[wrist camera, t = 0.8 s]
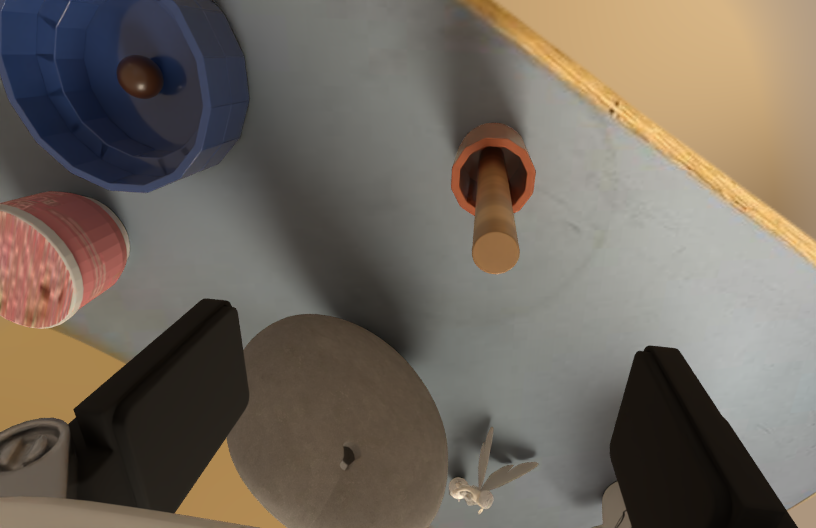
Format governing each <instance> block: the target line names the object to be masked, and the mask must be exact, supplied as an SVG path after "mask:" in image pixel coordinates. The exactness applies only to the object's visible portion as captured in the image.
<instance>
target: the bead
mask: <svg viewBox="0 0 816 528" xmlns="http://www.w3.org/2000/svg"><path fill="white" fill-rule="evenodd" d="M116 74H117V79H118V82H119V84H120V85H121V87H122V88H123V89H124V90H125V91H126V92H127V93H128V94H130V95H132V96H134V97H136V98H141V99H148V98H152V97H154V96H156V95H157V94H158V93H159V92H160V91H161V89H162V87H163V83H164V79H163V74H162V72H161V70H160V68H159V67H158V65H157V64H156V63H155V62H153V61H152V60H151V59H149V58H147V57H145V56H141V55H130V56H127V57H125V58H124V59H122V60H121V61H120V63H119V64H118V67H117V71H116Z"/></svg>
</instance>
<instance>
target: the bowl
mask: <svg viewBox="0 0 816 528" xmlns="http://www.w3.org/2000/svg"><path fill="white" fill-rule="evenodd" d="M130 55H141V56H145V57H147V58H149V59H151V60H152V61H153V62H155V63H156V64H157V65H158V67H159V68H160V70H161V72H162V74H163V79H164V83H163V87H162V89H161V91H160V92H159V93H158V94H157V95H156V96H154V97H152V98H148V99H141V98H136V97H134V96H132V95H130V94H128V93H127V92H126V91H125V90H124V89H123V88H122V87H121V85H120V84H119V82H118V79H117V74H116V71H117V67H118V64H119V63H120V61H121V60H122V59H124V58H125V57H127V56H130ZM0 76H1V79H2V82H3V85H4V88H5V91H6V94H7V98H8V100H9V102H10V103H11V105H12V106H13V108H14V109H15V111H16V112H17V114H18V115H19V117H20V119H21V120H22V122H23V123H24V125H25V126H26V128H27V129H28V131H29V132H30V134H31V135H32V137H33V138H34V140H35V141H36V142H37V143H38V144H39V145H40V146H41V147H42V148H43V149H45V150H46V151H47V152H48V153H49V154H50V155H51V156H52V157H54V158H55V159H56V160H57V161H58V162H59V163H60V164H61V165H63V166H64V167H65V168H66V169H67V170H68V171H69V172H71V173H72V174H74V175H77V176H79V177H81V178H83V179H85V180H87V181H90V182H92V183H94V184H96V185H98V186H100V187H103V188H105V189H107V190H110V191H125V192H140V193H148V192H151V191H153V190H156V189H158V188H161V187H163V186H166V185H168V184H171V183H173V182H176V181H178V180H180V179H183V178H185V177H188V176H190V175H193V174H195V173H198V172H200V171H202V170H205V169H207V168H209V167H212V166H214V165H217V164H219V163H220V162H221V160H222V159H223V158H224V157H225V155H226V154H227V153H228V152H229V151H230V149H231V148H232V147H233V146H234V145H235V143H236V142H237V141H238V140H239V138H240V135H241V131H242V127H243V123H244V119H245V115H246V112H247V108H248V104H249V92H248V83H247V75H246V66H245V58H244V55H243V53H242V51H241V49H240V46H239V44H238V42H237V40H236V38H235V36H234V34H233V32H232V29H231V27H230V25H229V23H228V21H227V19H226V17H225V15H224V13H223V12H222V11H221V10H220V9H219V8H218V7H217V5H216V4H215V3H214V2H213V1H212V0H0Z"/></svg>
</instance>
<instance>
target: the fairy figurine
mask: <svg viewBox="0 0 816 528" xmlns="http://www.w3.org/2000/svg"><path fill="white" fill-rule="evenodd" d="M492 437H493V427H491V428H490V430H489V432H488V434H487V438H486V442H483V445H482V448H481V452H480V458H479V467H478V471H479V473H478V474H479V475H478V476H479V487H477V486H476V487H477V488H476V487H475V486H474V485H472V487H471V486H470V485H468V483H467V481H466V480H465V479H464V478H460V477H457V478H454V479H453V480H451V481H450V484H449V491H450V492H449V495H450V496H451V495H452V496H453V497H454V498H457V499H458V502H459V500H460V499H462V498H465V501H467V503H468V504H467V505H475V504H478V505H479V506H481V509H480V510H479V511H478V512H480V513H481V512H482V511H483V508H484V509H488V508H490V506H491V505H492V502H493V496H492V494H491V492H490V491H489V490H492V489H495V488H498V487H500V486H502V485H504V484H507V483H509V482H511V481H513V480H515V479H517V478H519V477H521V476H523V475H524V474H526V473H528V472H529V471H531V470H532V469H534V468H535V467H537V466H538V463H536V462H527V463H522V464H520V465H517V466H515V467H514V468H513V469H511V468H512V467H513V466H514V465H507V466H504V467H502V468H500V469H499V470H497V471H495V472H494V473H492V474H491V475H490V476H489V478H488V479H487V481H486V482H485V483H484V485H483V487H482V484H483V481H484V477H485V473H486V468H487V464H488V459H489V455H490V449H491V444H492ZM484 443H485V450H484ZM510 469H511V470H510ZM509 470H510V471H509ZM508 471H509V472H508ZM481 487H482V488H481ZM469 503H470V504H469ZM480 513H478V514H480Z"/></svg>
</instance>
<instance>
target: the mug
mask: <svg viewBox="0 0 816 528" xmlns="http://www.w3.org/2000/svg"><path fill="white" fill-rule="evenodd" d="M602 518H603V524H602V525H599V526H595V527H592V528H632V526H631V523H630V520H629V517H628V514H627V510H626V507H625V504H624V501H623V497H622V494H621V491H620V488H619V484H618V481H617V482H615V483H613V484H612V485H610V486H609V487H608V488H607V489H606V491H605V493H604V495H603V498H602Z"/></svg>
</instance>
